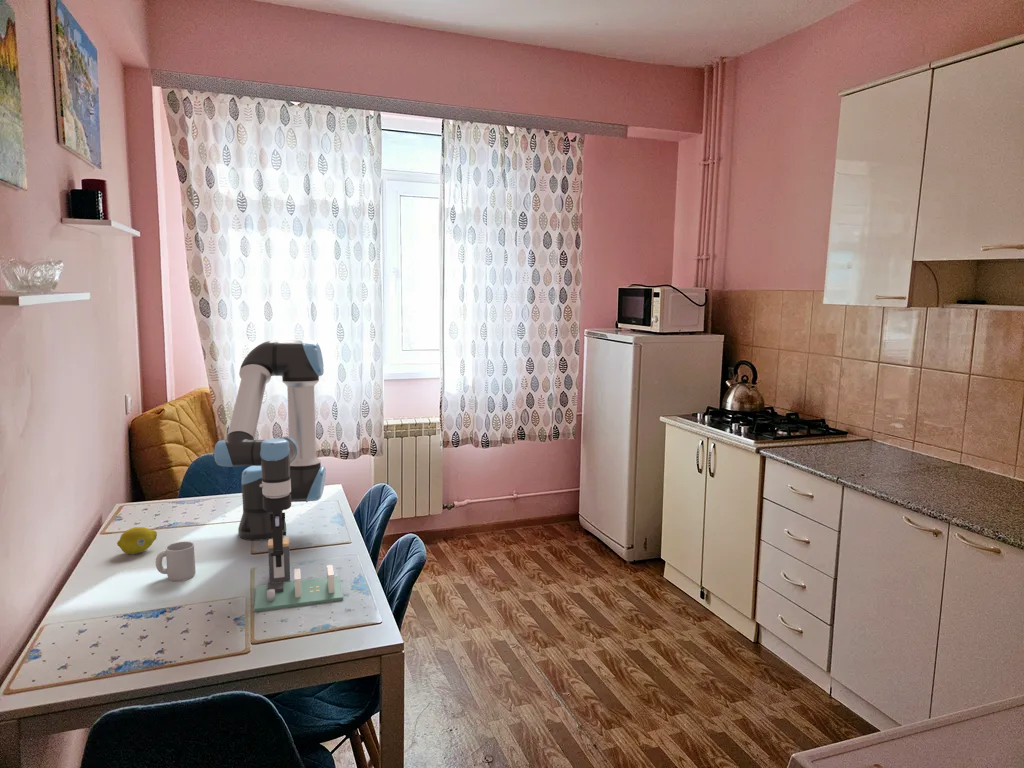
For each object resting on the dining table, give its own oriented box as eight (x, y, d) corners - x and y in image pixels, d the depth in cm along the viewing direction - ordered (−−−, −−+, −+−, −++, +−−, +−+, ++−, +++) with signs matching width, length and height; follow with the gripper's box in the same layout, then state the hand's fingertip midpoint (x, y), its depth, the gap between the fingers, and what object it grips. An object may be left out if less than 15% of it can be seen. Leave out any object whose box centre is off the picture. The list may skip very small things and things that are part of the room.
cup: (194, 579, 186) (192, 549, 185) (154, 584, 183) (152, 553, 182) (197, 569, 193) (195, 540, 192) (158, 574, 190) (156, 544, 189)
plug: (270, 576, 189) (268, 539, 188) (290, 573, 191) (288, 537, 189) (269, 583, 184) (268, 545, 183) (290, 580, 186) (288, 543, 185)
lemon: (118, 560, 199) (116, 534, 198) (117, 551, 206) (115, 527, 205) (158, 553, 205) (157, 528, 204) (157, 545, 211) (155, 521, 210)
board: (256, 588, 181) (255, 568, 180) (339, 578, 188) (338, 558, 187) (254, 611, 168) (253, 590, 167) (343, 600, 175) (342, 579, 174)
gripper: (263, 483, 195) (266, 553, 197) (260, 509, 171) (263, 587, 174) (290, 481, 197) (293, 550, 200) (291, 506, 174) (293, 583, 177)
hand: (279, 567), depth 187 cm, fingers open, 12 cm apart
